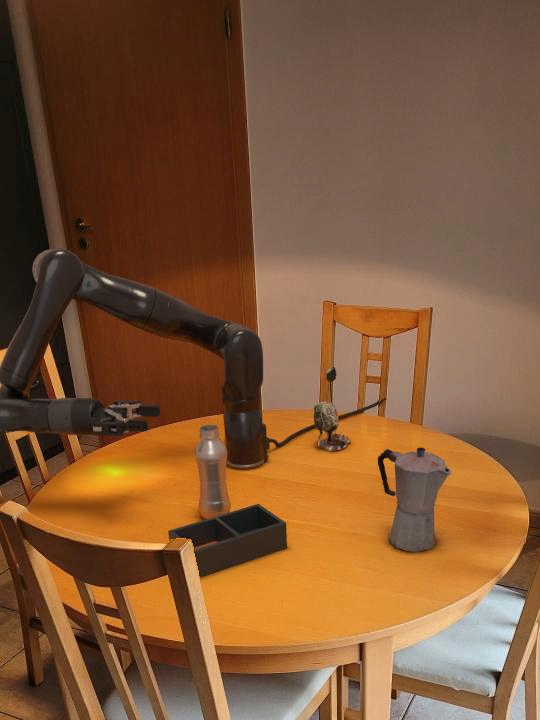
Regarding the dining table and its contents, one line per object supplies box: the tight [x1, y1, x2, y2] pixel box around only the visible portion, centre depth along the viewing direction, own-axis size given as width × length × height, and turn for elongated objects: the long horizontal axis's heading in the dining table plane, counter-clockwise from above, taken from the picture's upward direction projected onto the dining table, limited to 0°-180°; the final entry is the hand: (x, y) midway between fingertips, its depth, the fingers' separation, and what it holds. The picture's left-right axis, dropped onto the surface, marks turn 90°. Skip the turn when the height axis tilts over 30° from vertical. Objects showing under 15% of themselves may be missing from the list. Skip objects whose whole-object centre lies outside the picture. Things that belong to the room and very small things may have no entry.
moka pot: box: [377, 446, 453, 553], centre depth 150 cm, size 10×15×20 cm, turn 58°
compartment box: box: [167, 503, 288, 578], centre depth 152 cm, size 10×20×6 cm, turn 123°
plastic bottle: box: [194, 424, 231, 520], centre depth 162 cm, size 6×7×20 cm
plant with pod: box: [313, 365, 352, 452], centre depth 196 cm, size 8×11×20 cm
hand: (153, 418), depth 158 cm, fingers open, 8 cm apart
